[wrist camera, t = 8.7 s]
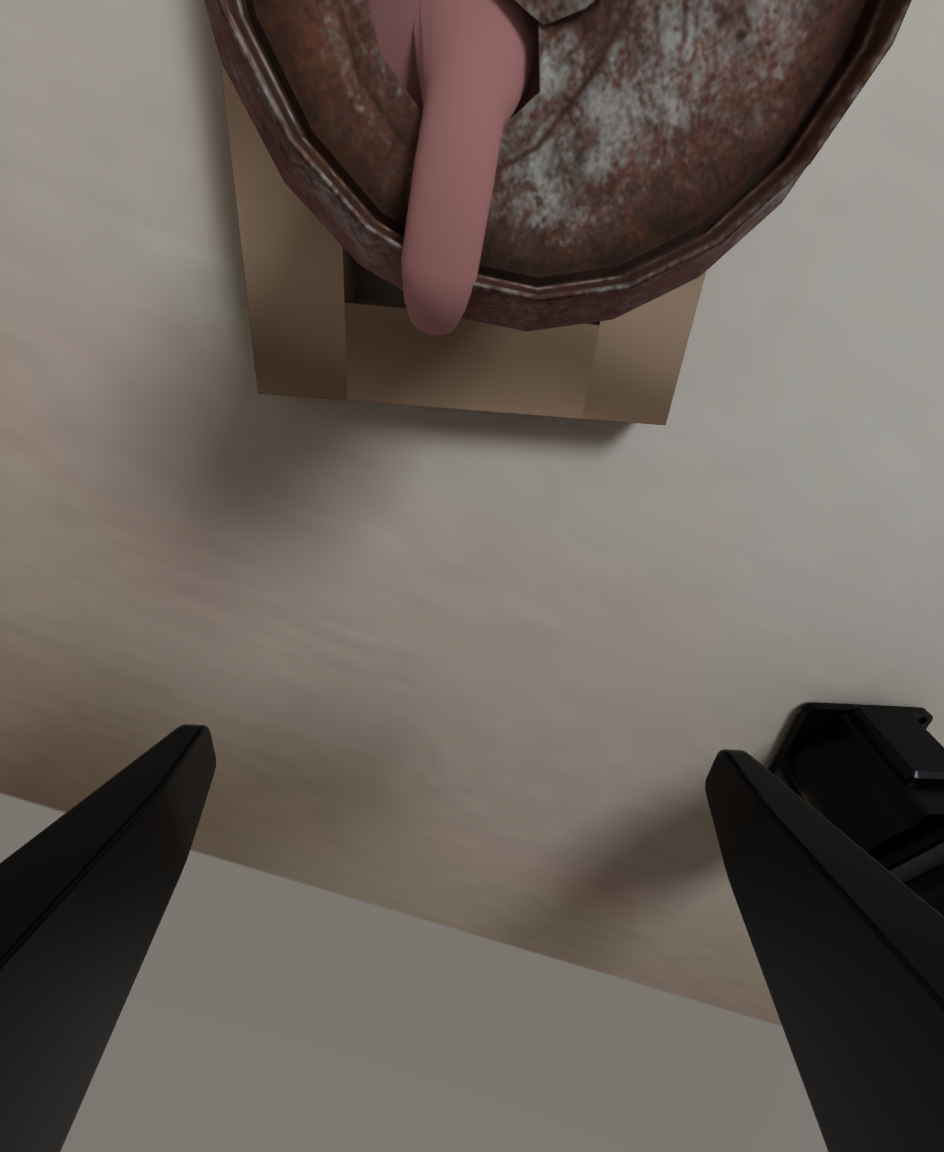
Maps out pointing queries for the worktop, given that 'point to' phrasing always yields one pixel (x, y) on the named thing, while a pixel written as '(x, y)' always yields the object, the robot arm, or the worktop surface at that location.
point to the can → (545, 135)
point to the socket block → (416, 359)
